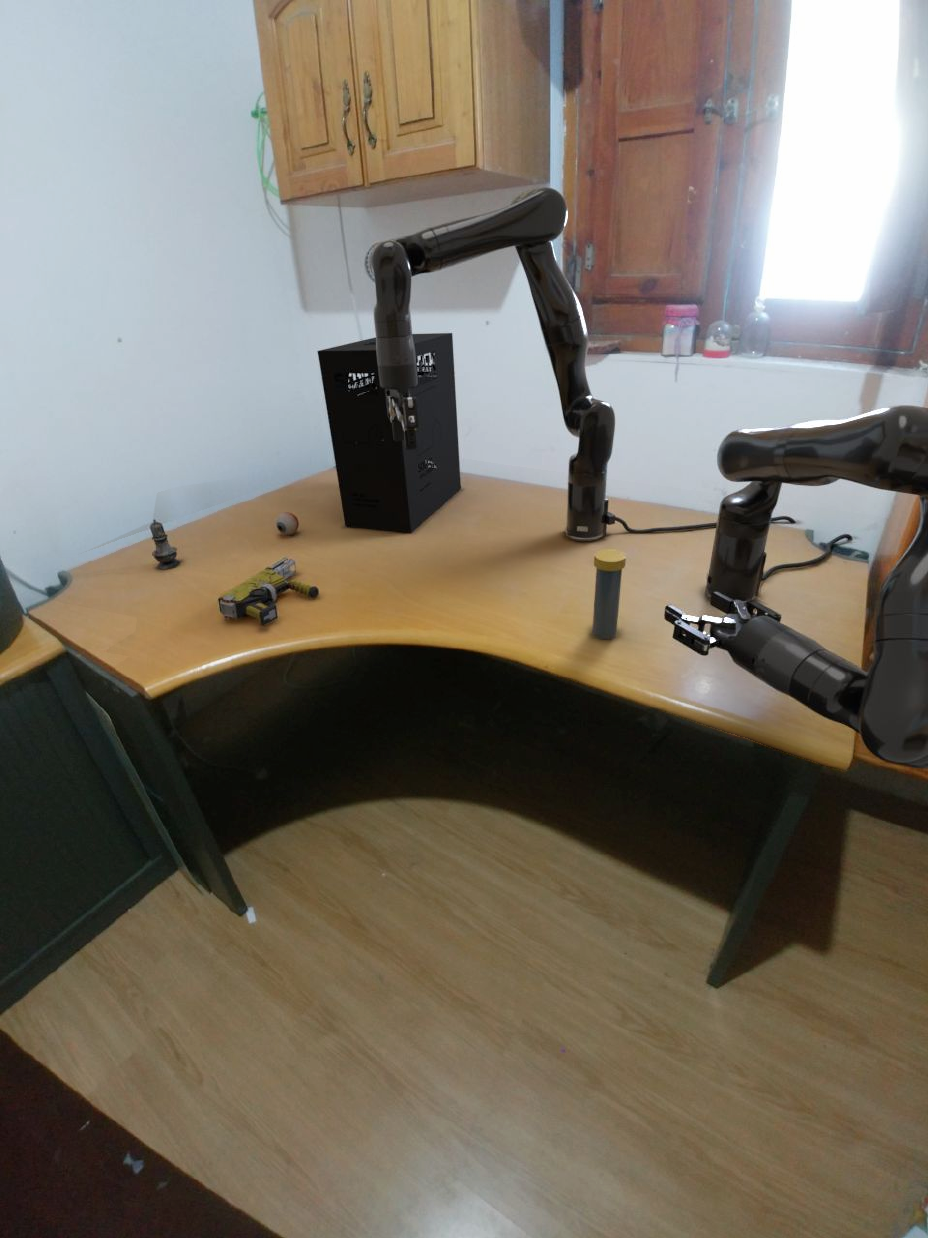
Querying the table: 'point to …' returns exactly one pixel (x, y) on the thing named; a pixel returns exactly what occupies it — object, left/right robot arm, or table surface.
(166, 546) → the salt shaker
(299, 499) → the table surface
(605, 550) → the lid
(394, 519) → the cardboard box
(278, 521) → the eyeball
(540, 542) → the table surface
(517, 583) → the table surface
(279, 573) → the toy gun
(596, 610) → the blue grey cylinder
